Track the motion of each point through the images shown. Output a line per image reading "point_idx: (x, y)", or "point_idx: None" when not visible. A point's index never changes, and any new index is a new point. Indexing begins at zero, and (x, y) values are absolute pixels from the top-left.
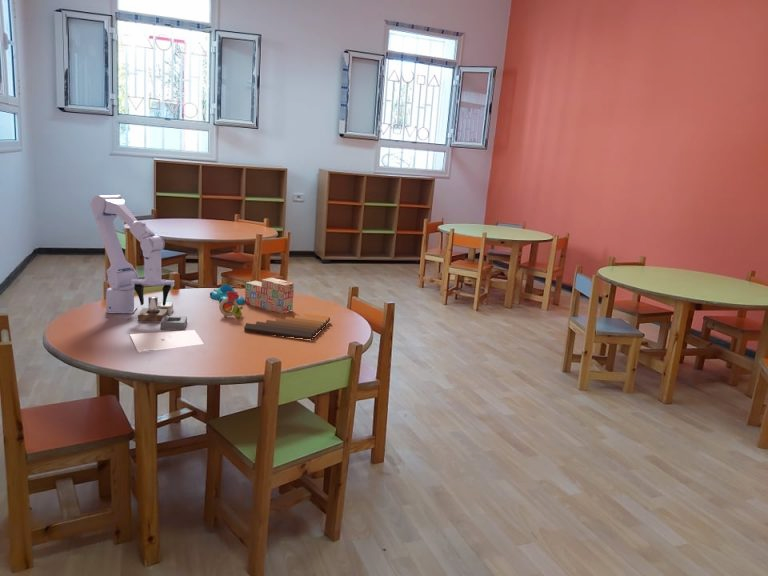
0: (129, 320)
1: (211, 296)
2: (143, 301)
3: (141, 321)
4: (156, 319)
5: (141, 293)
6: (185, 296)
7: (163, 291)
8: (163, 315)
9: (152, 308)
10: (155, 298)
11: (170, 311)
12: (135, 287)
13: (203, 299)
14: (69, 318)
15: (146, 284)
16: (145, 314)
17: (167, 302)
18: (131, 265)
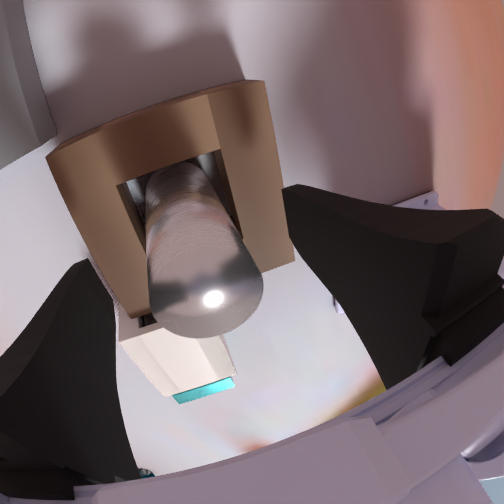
0: (307, 91)
1: (142, 473)
2: (298, 242)
3: (220, 85)
4: (109, 123)
5: (365, 232)
6: (218, 454)
7: (15, 375)
8: (50, 155)
9: (174, 195)
10: (155, 275)
11: (120, 315)
12: (500, 242)
13: (150, 459)
14: (501, 93)
15: (381, 412)
16: (206, 112)
17: (190, 385)
18: (488, 475)
